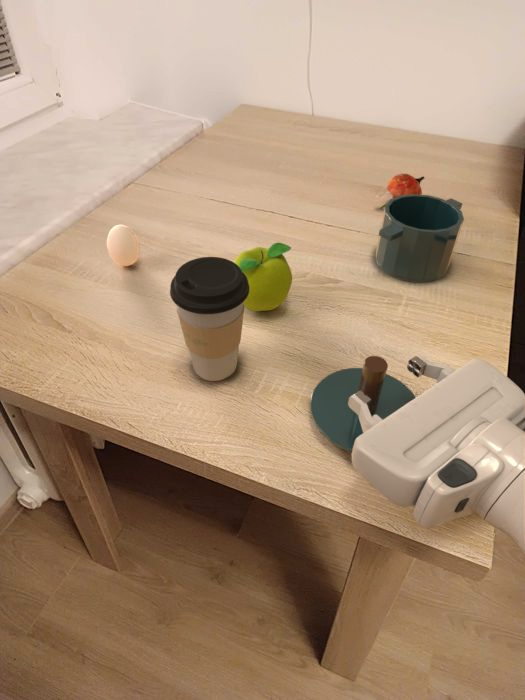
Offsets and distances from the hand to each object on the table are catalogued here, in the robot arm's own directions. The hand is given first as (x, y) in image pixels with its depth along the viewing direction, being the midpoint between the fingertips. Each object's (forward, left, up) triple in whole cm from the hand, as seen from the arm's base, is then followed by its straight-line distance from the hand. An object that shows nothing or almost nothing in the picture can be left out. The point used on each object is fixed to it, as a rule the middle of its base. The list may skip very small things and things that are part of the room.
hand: (383, 378), depth 56 cm
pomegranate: (-35, -45, -8) cm, 57 cm away
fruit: (+3, -27, -8) cm, 28 cm away
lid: (+1, -1, -7) cm, 7 cm away
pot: (-26, -28, -8) cm, 39 cm away
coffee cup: (+14, -17, -8) cm, 24 cm away
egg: (+20, -46, -8) cm, 51 cm away
